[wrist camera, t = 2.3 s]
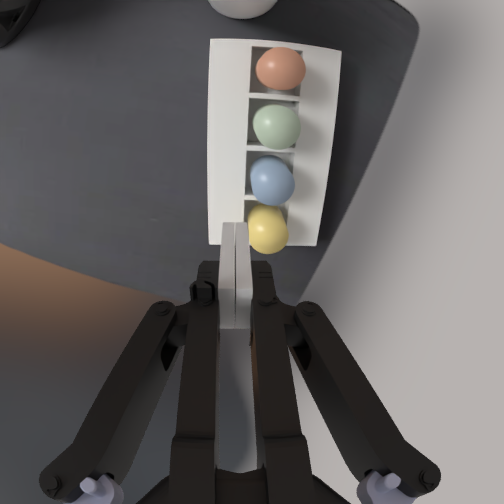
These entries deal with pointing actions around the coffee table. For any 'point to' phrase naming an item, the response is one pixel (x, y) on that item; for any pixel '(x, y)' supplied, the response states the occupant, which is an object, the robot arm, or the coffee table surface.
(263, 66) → the orange rounded piece
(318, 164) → the white slotted tray
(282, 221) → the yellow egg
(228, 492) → the robot arm
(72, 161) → the coffee table surface
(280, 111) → the pale green rounded piece
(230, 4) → the candle holder
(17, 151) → the coffee table surface
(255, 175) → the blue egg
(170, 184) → the coffee table surface
